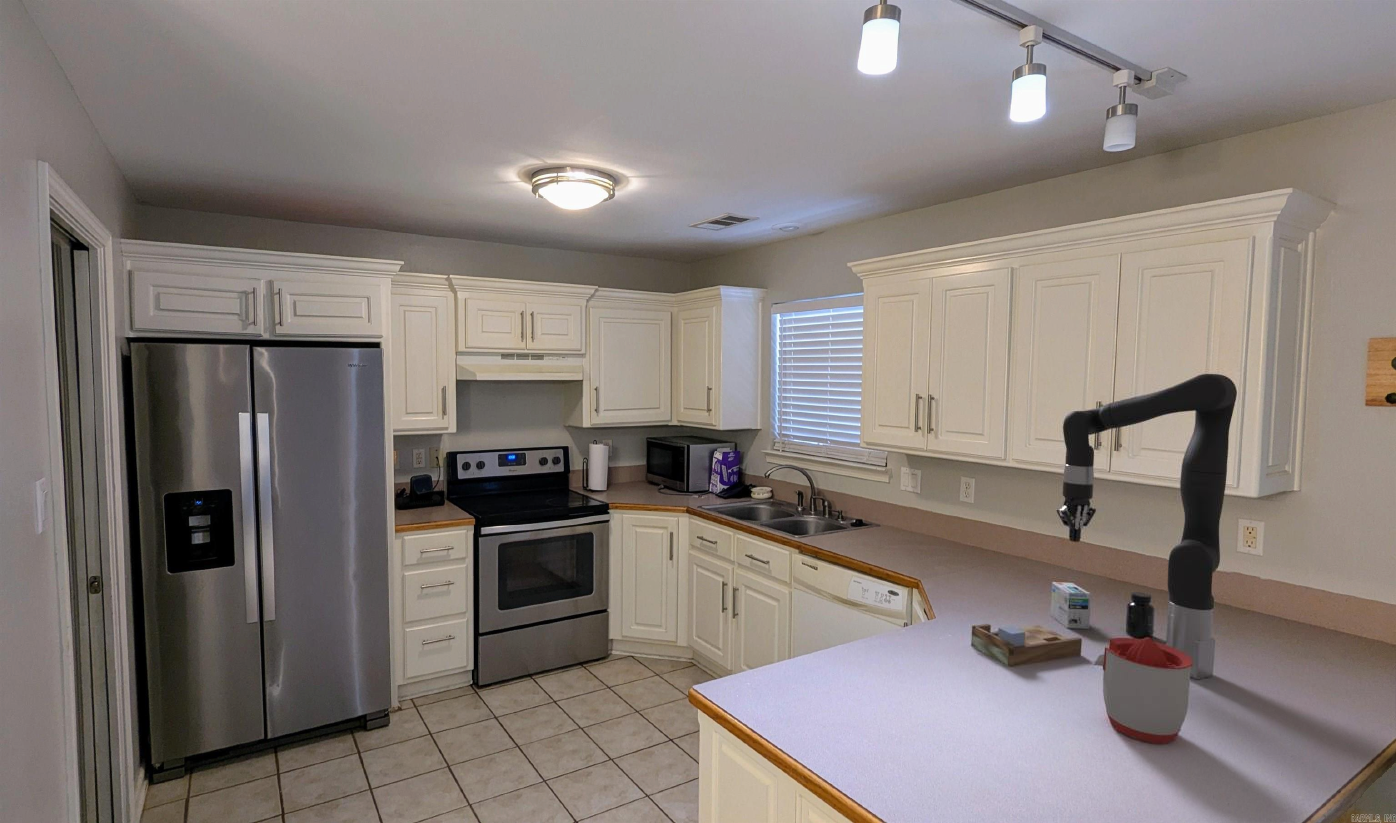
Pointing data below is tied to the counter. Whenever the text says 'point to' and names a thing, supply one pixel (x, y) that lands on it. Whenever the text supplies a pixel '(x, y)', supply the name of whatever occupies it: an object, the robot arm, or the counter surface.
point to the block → (1012, 635)
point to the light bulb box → (1070, 605)
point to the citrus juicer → (1145, 688)
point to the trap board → (1036, 648)
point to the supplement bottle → (1140, 616)
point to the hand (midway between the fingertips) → (1074, 541)
